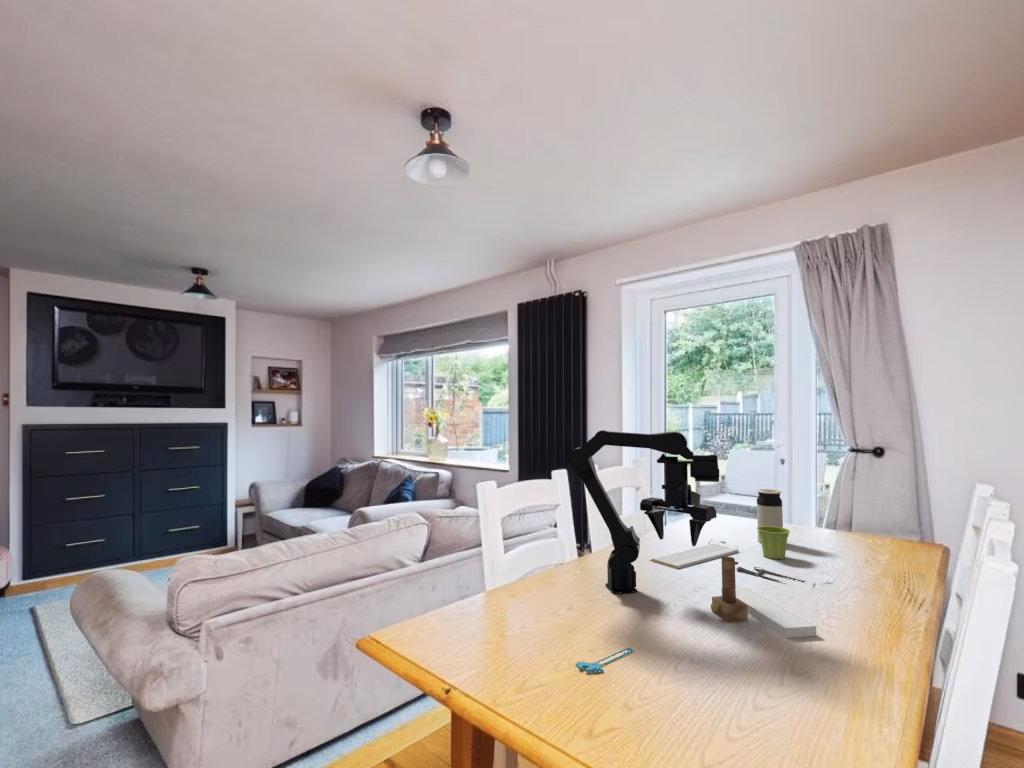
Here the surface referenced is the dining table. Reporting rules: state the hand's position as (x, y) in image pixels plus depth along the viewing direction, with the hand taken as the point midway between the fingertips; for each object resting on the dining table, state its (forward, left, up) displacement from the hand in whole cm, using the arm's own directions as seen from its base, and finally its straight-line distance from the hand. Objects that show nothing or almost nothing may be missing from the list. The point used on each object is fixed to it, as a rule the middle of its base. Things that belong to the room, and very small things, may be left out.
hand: (677, 542), depth 132 cm
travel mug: (+55, +42, -13) cm, 70 cm away
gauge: (+5, -15, -13) cm, 20 cm away
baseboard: (+21, +32, -14) cm, 40 cm away
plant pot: (+45, +26, -13) cm, 54 cm away
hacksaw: (+35, +7, -14) cm, 38 cm away
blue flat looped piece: (-29, -30, -14) cm, 44 cm away
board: (+13, -15, -13) cm, 24 cm away
